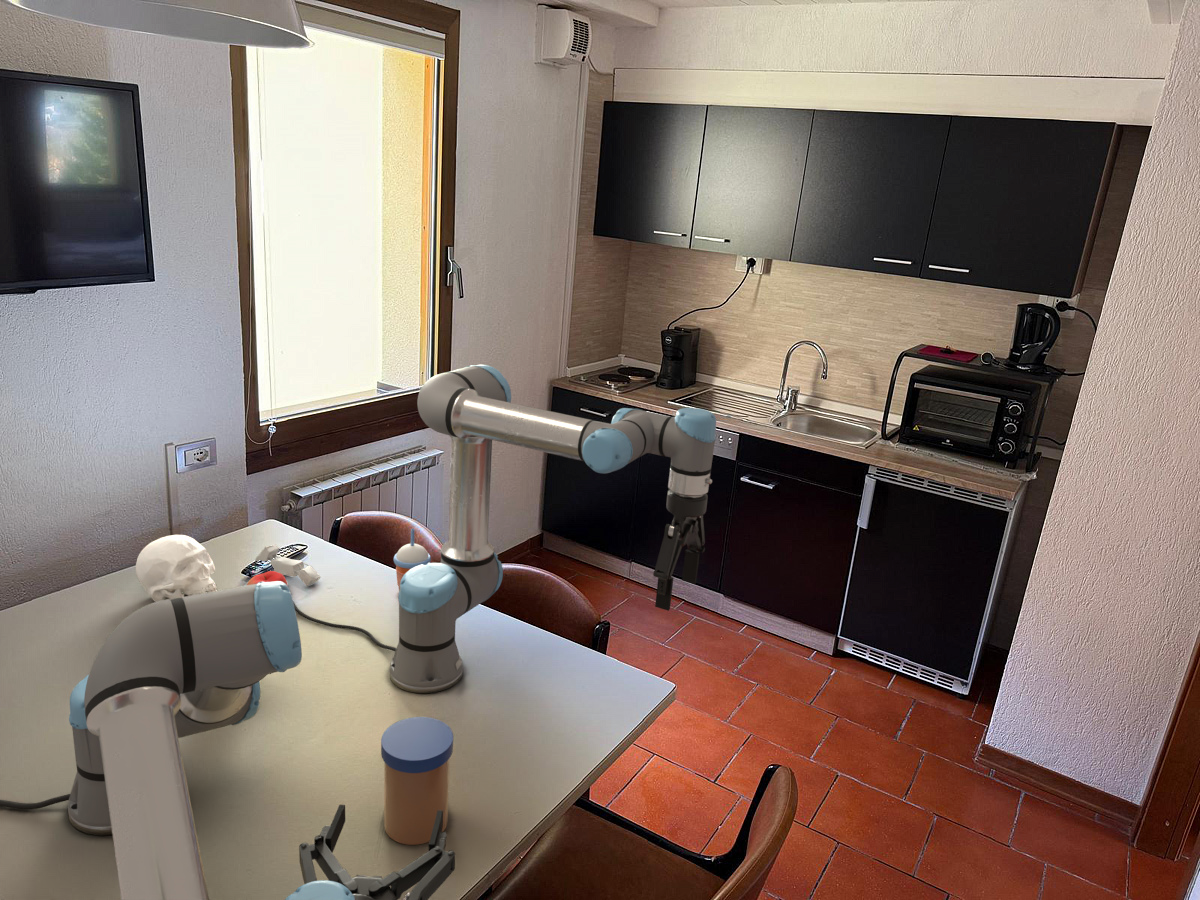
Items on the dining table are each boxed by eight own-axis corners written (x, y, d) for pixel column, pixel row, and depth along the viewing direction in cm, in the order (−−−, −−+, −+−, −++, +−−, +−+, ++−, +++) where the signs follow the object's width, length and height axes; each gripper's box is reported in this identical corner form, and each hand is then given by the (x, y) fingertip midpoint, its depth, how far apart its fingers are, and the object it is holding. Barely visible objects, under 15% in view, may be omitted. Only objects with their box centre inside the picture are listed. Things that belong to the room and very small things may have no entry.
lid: (395, 781, 129) (395, 768, 128) (371, 740, 138) (371, 728, 137) (464, 760, 135) (464, 747, 134) (436, 721, 144) (437, 709, 143)
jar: (397, 853, 134) (397, 768, 129) (375, 812, 142) (375, 731, 137) (457, 831, 139) (460, 749, 135) (433, 793, 148) (435, 714, 143)
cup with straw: (421, 606, 210) (422, 538, 205) (387, 600, 212) (387, 533, 206) (435, 590, 219) (437, 525, 213) (402, 584, 220) (403, 520, 215)
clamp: (253, 565, 223) (254, 542, 221) (265, 560, 226) (266, 537, 224) (309, 593, 215) (310, 569, 213) (320, 588, 218) (321, 564, 216)
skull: (201, 621, 195) (199, 557, 191) (123, 601, 201) (119, 539, 197) (241, 598, 208) (239, 537, 203) (167, 580, 213) (163, 521, 209)
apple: (273, 600, 207) (272, 562, 204) (297, 613, 202) (296, 575, 199) (237, 614, 200) (234, 575, 197) (261, 628, 194) (259, 588, 191)
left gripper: (241, 963, 100) (302, 832, 120) (455, 974, 100) (480, 842, 120) (238, 912, 97) (300, 787, 118) (457, 924, 98) (481, 798, 118)
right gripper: (681, 516, 147) (669, 626, 153) (728, 478, 168) (716, 576, 174) (642, 506, 150) (631, 614, 156) (693, 470, 171) (682, 566, 178)
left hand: (391, 815), depth 119 cm, fingers open, 13 cm apart
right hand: (676, 594), depth 165 cm, fingers open, 13 cm apart
